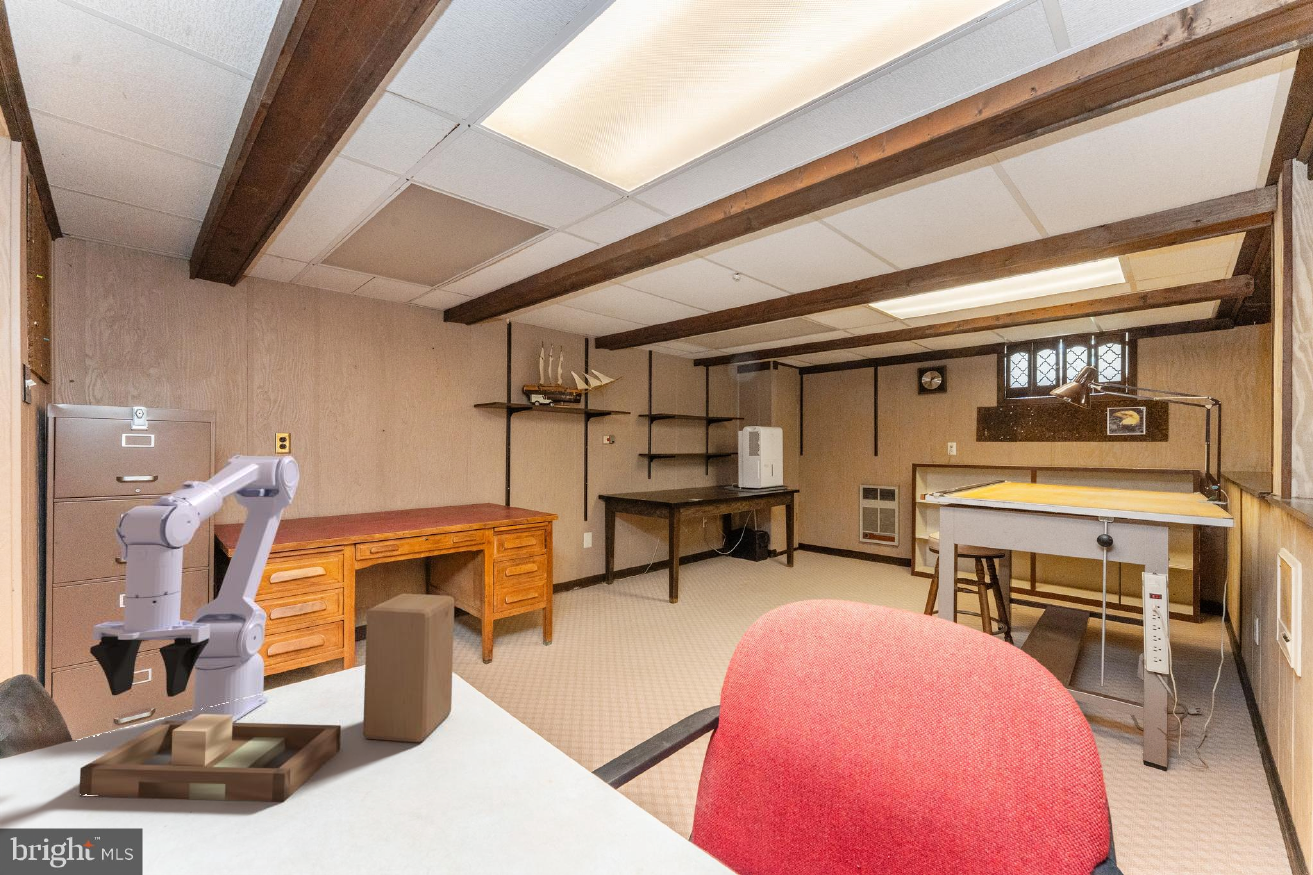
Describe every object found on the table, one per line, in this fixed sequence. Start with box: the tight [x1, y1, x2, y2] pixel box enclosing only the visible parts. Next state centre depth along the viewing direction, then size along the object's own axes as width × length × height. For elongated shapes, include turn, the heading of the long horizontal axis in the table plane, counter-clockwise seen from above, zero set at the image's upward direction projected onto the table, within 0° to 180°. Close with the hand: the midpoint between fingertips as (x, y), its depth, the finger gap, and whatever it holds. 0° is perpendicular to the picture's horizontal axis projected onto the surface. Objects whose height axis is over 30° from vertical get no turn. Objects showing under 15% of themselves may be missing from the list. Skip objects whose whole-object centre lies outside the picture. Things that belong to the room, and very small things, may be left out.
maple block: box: [171, 714, 233, 766], centre depth 75 cm, size 4×4×4 cm
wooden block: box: [362, 593, 455, 743], centre depth 88 cm, size 10×10×20 cm
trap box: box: [78, 720, 342, 803], centre depth 75 cm, size 12×26×4 cm, turn 89°
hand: (149, 692), depth 75 cm, fingers open, 7 cm apart
